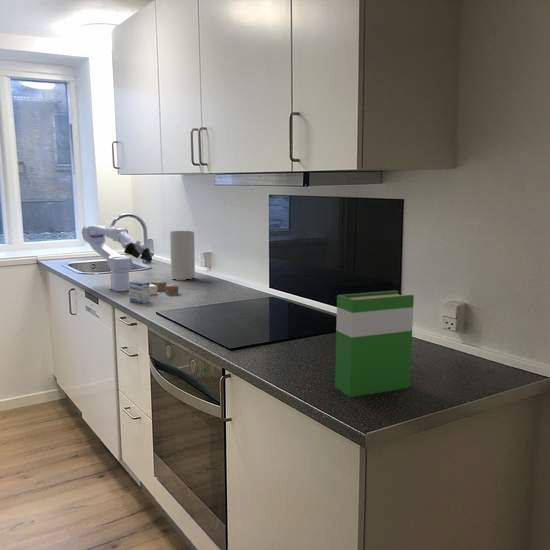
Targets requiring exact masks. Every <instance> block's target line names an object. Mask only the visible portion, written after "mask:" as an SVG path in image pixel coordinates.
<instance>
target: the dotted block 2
mask: <svg viewBox="0 0 550 550" xmlns="http://www.w3.org/2000/svg"><path fill="white" fill-rule="evenodd" d="M165 293H166V294H165ZM164 294H165V295H167V296H174V295H173V294H178V295H179V285H177V284H175V283H174V284H173V283H172V284H166V285H165V290H164Z"/></svg>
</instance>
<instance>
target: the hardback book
mask: <svg viewBox="0 0 550 550" xmlns="http://www.w3.org/2000/svg"><path fill="white" fill-rule="evenodd" d="M414 297H415V295H413V294H406V295H405V294H404V295H402V294H399V290H396V289H395V290H386V291H385V290H384V291H382V290H381V291H372V292H371V291H370V292H360V293H347V294H346V293H345V294H338V295H337V296H336V327H335V329H336V330H335V333H336V334H335V362H334V363H335V373H334V388H335V389H336V388H337V389H336V390H337V391H339V390H340V392H341V393H342V392H343V394H344V395H345V396H347V397H349V398H354V397H360V396H361V397H362V396H366V395H368V396H369V395H372V394H379V393H380V394H381V393H385V392H392V391H398V390H397V389H399V390H403V388H405V389H409V388H408V387H410V388H411V368H412V367H411V366H412V345H413V343H412V342H413V326H414V325H413V321H414V304H415V303H414V301H415V300H414V299H415V298H414Z"/></svg>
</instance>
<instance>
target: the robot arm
mask: <svg viewBox="0 0 550 550" xmlns="http://www.w3.org/2000/svg"><path fill="white" fill-rule="evenodd" d="M81 235H82V240H84V241H85V242H86V243H88V244H89V246H90V247H91V248H92V250H93V251H94V252H96V253H97V254H98V255H100V256H101V257H102V258H104V259H105V261H106V262H107V266H108V268H109V269H110V271H111V273H110V287H109V289H108V290H111V289H112V291H114V292H125V291H129V282H130V271H131V269H132V268H133V259H132V258H131V256H132V257H134V258H136V259H139V257H140V259H141V260H145V262H147V263H151V262H152V260H153V257H152V255H151V252H150V249H149V248H147V247H143V246H142V245H141V243H142V242H141V241H140V240H135V239H134V238H133V237H132V236H131V235H130V234H129V230H128V229H127V228H126V227H122V228H121V227H119V226H114V225H113V224H109V225H108V226H104V225H90V226H89V225H88V226H85V225H84V226H83V227H82V230H81ZM106 238H109V239H112V241H113V242H117V243H119V244H120V245H121V247H122V248H123V249H124V250H123V251H124V254H127V255H131V256H126V255H124V254H119V253H117V252H116V251H115V250H113V249H112V248H110V247H109V246H108V245H107V244H105V242H106ZM140 255H141V256H140Z"/></svg>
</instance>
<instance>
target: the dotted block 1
mask: <svg viewBox="0 0 550 550" xmlns="http://www.w3.org/2000/svg"><path fill="white" fill-rule="evenodd" d="M151 284H153V285H156V286H157V292H162V290H164V291H165V285H167V281H164V280H163V281H162V280H157V281H156V280H155V281H151Z"/></svg>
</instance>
